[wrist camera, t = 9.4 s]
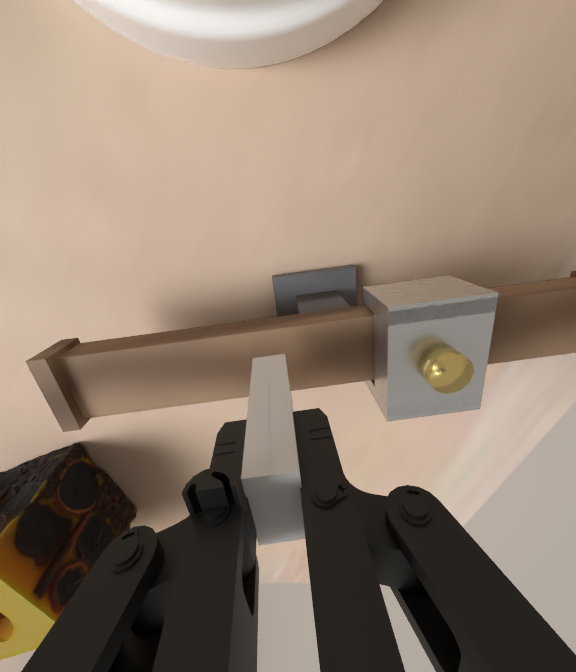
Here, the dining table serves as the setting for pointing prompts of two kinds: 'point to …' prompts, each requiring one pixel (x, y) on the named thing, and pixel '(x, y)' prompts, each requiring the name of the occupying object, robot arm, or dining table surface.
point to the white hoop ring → (230, 27)
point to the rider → (430, 345)
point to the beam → (275, 348)
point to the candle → (51, 539)
